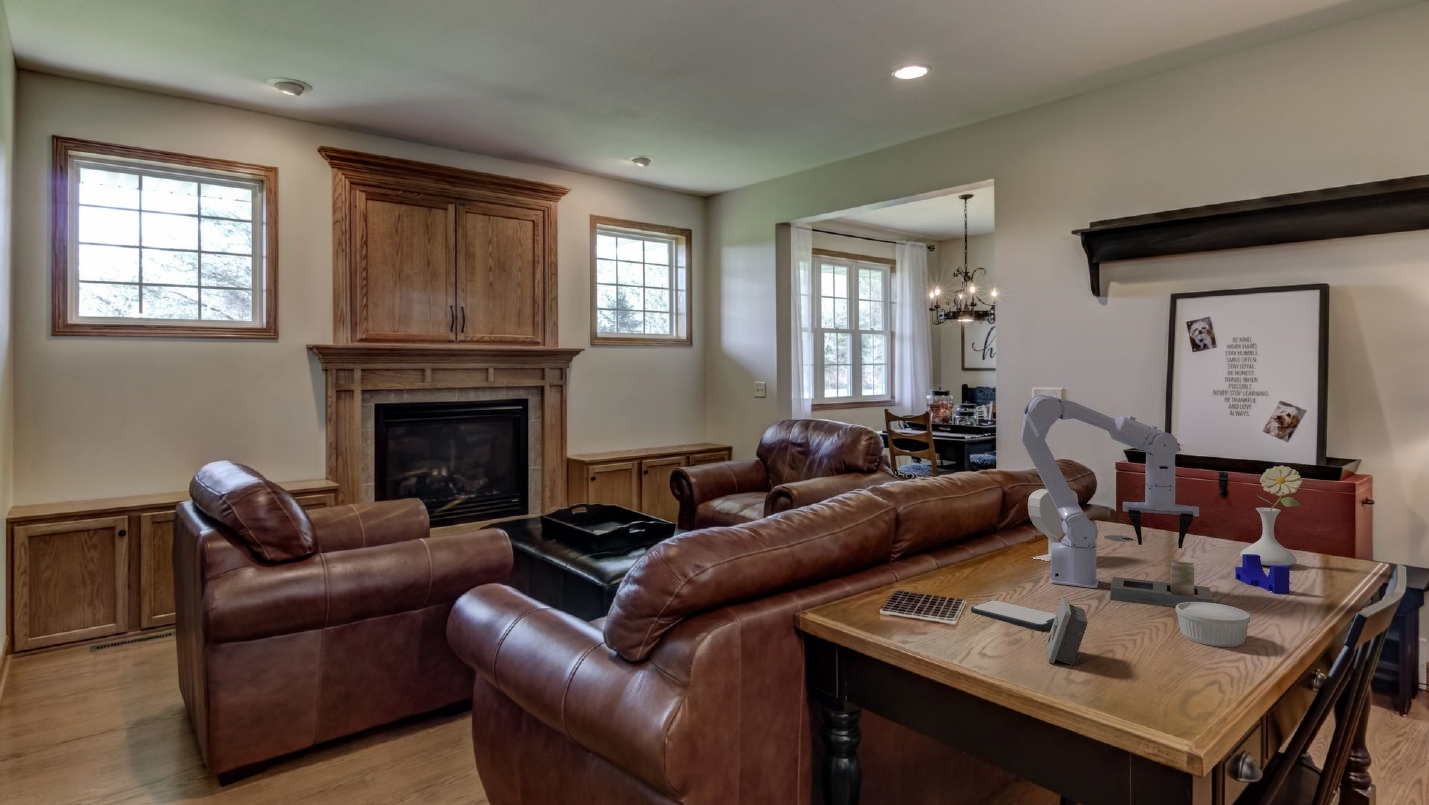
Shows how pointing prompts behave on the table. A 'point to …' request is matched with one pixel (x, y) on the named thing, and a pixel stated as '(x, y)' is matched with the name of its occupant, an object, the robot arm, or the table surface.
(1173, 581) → the peg
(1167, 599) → the grey slotted board
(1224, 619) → the ramekin
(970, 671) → the table surface
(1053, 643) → the electrical switch
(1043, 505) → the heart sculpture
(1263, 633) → the table surface
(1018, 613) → the phone case
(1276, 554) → the flower in vase
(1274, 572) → the cable clip
